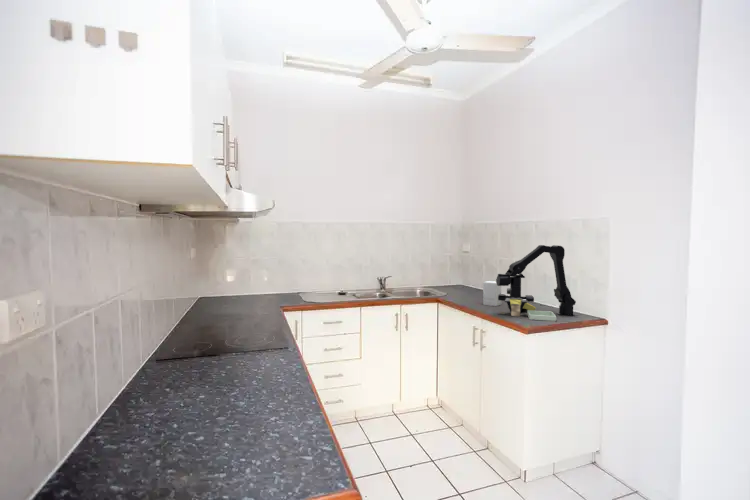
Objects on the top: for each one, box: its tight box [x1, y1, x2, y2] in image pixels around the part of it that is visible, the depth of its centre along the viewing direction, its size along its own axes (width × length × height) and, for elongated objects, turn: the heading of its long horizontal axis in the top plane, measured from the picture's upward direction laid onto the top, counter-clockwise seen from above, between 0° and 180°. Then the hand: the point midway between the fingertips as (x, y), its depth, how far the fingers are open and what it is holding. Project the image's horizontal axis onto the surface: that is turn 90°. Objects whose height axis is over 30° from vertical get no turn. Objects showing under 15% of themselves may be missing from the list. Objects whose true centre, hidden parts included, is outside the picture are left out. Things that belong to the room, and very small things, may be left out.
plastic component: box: [510, 299, 537, 311], centre depth 226 cm, size 20×7×10 cm
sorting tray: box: [526, 309, 557, 322], centre depth 203 cm, size 13×13×2 cm
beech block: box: [510, 304, 521, 317], centre depth 210 cm, size 4×4×6 cm
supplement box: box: [482, 280, 502, 307], centre depth 241 cm, size 9×9×15 cm
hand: (515, 313), depth 210 cm, fingers closed on beech block, 4 cm apart
